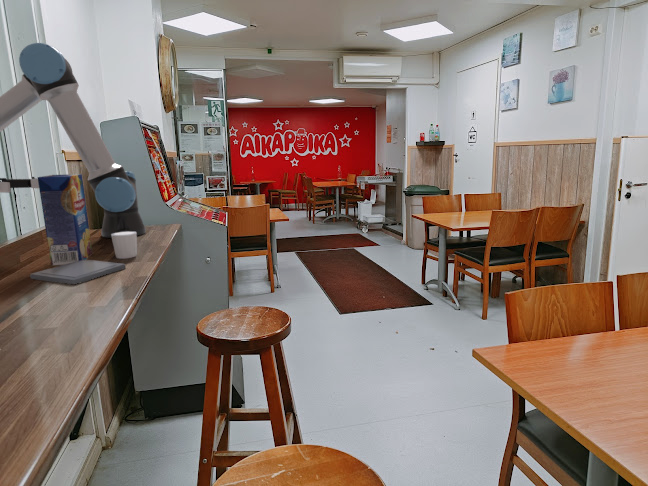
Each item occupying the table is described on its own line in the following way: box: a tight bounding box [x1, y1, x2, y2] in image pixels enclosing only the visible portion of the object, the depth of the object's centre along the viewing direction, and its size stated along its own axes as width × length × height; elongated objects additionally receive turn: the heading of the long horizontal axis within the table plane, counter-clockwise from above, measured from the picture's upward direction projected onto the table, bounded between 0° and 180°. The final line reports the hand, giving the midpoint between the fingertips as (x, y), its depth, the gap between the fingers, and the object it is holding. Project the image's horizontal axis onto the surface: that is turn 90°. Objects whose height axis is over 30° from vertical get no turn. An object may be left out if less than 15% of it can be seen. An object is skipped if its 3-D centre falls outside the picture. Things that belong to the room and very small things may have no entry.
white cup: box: [111, 231, 138, 260], centre depth 125 cm, size 7×7×7 cm
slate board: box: [29, 259, 126, 285], centre depth 108 cm, size 15×15×1 cm
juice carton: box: [36, 173, 93, 266], centre depth 120 cm, size 12×8×24 cm, turn 15°
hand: (31, 185), depth 120 cm, fingers open, 13 cm apart
